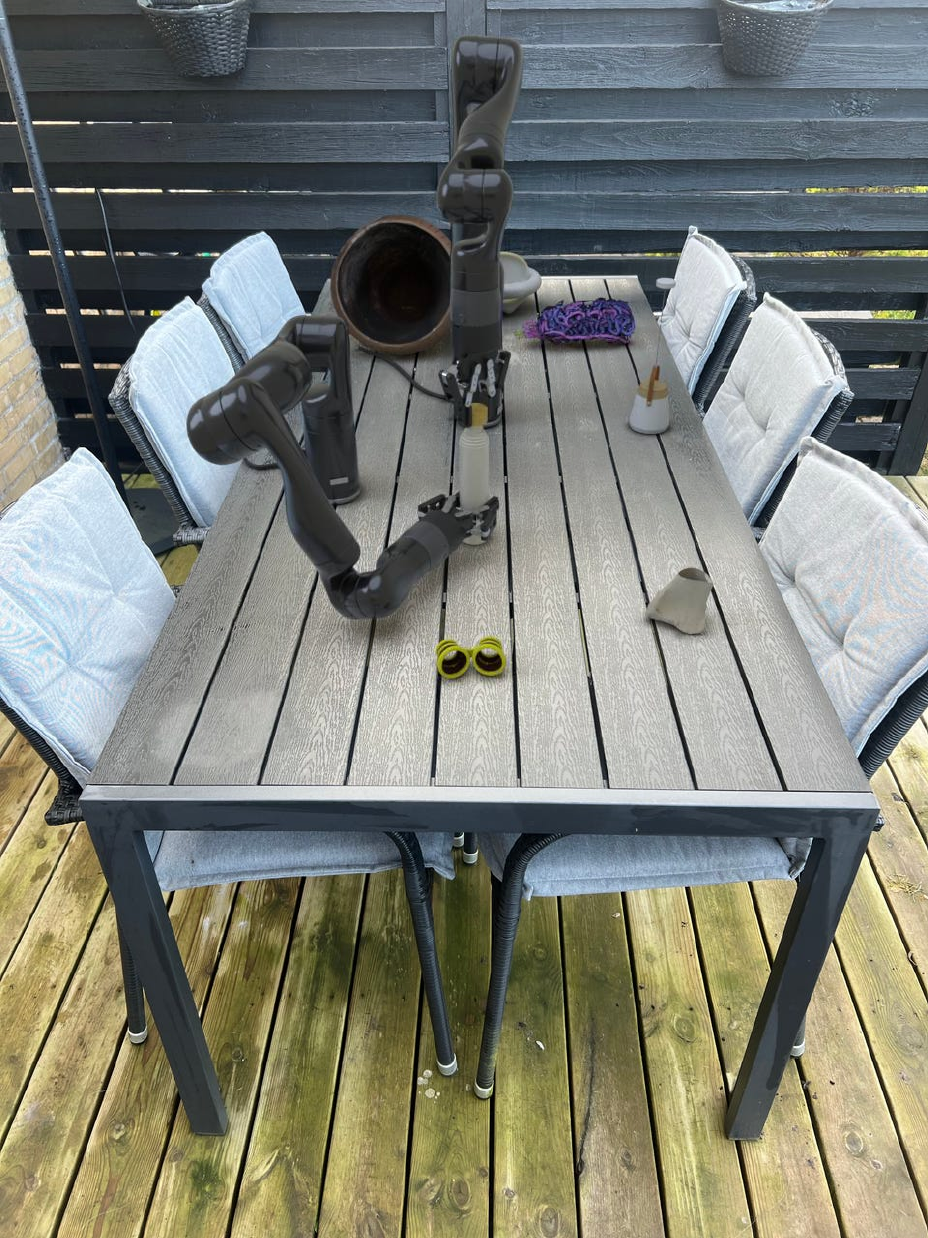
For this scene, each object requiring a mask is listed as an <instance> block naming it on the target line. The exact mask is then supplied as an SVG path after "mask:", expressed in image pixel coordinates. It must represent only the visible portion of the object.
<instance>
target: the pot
mask: <svg viewBox="0 0 928 1238" xmlns="http://www.w3.org/2000/svg"><path fill="white" fill-rule="evenodd" d="M450 250H451V240H450V239H449V237H448V236H447V235H446V234H445V233H443V231H442V230H441V229H440V228H439V227H437V226H436V225H434V224H433V223H431V222H429V221H427V220H425V219H423V218H420V217H419V216H414V215H411V214H405V213H402V214H401V213H397V214H393V213H392V214H388V215H382V216H379V217H378V218H375V219H373V220H372V221H369V222H367V223H366V224H365V225H364V224H363V226H361V227H360V228H358V230H356V231H355V232H354V233H353V234H352V235H351V236H349V238H348V239H347V240H346V242H345V244H344V245H343V246H342V247H341V249H340V252H339V253H338V255H337V257H336V258H335V260H334V263H333V265H332V267H331V274H330V282H329V283H330V284H329V286H330V287H329V290H330V297H331V301H332V304H333V308H334V310H335V313H336V315H337V317H341V318H343V319H344V320H345V322H346V324H347V326H348V330H349V336H351V337H352V338H353V339H355V340H356V341H357V342H358V343H360V344H361V345H362V346H363V347H364V348H365V347H366V349H369V350H371V351H374V352H376V353H379V354H382V355H390V356H405V355H411V354H417V353H419V352H423V351H426V350H428V349H430V348H432V347H433V346H434V345H436V344H437V343H439V342H440V341H441V340H442V339H443V338H444V337H445V336H446V335H447V334H448V333H449V332H450V299H449V294H448V273H449V261H450Z"/></svg>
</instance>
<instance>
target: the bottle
mask: <svg viewBox="0 0 928 1238" xmlns="http://www.w3.org/2000/svg"><path fill="white" fill-rule="evenodd" d="M490 448H491V447H490V437H489V436H488V434H487V432H486V430H485V428H483V425H481V426H471V427H469V428H465V427H464V429H463V431H462V433H461V435H460V437H459V441H458V450H459V451H458V456H459V457H458V458H459V459H458V461H459V462H458V463H459V464H458V465H459V466H458V467H459V468H458V469H459V491H460V508H459V510H462V511H466V510H468V509H470V508H473V507H475V508H476V509H477V508H479V507H481V506H484V504H485V503H486V502H487V501H489V500H490V451H491V450H490ZM471 516H472V515H471ZM480 517H482V514H480ZM486 542H487V541H482V540H481V536H479V535H472V536H470V537H468V538H465V539H464V540H463V541H462V543H465V544H467V545H472V546H475V545H481V544H482V545H483V544H484V543H486Z"/></svg>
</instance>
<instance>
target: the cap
mask: <svg viewBox="0 0 928 1238" xmlns="http://www.w3.org/2000/svg"><path fill="white" fill-rule="evenodd" d="M471 406H472V426H481V425H484V424H486V423H487V421H488V407H487V406H485V405H483V404H480V403H471Z"/></svg>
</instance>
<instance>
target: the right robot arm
mask: <svg viewBox="0 0 928 1238" xmlns="http://www.w3.org/2000/svg"><path fill="white" fill-rule="evenodd" d="M450 64H451V65H450V81H451V82H450V85H451V86H450V87H451V105H452V107H451V108H452V127H453V128H452V158H451V159H450V160H449V162H448V163H447V165H446V166H445V168H444V170H443V171H442V173H441V175H440V177H439V180H438V183H437V187H436V190H435V192H436V193H435V203H436V208H437V210H438V211H437V212H438V213H439V215H440V216H441V217H442V219H443V220H445V221H446V222H447V223H450V224H451V235H450V237H451V240H450V242H451V250H450V261H449V273H448V294H449V299H450V330H449V332H450V333H449V335H450V346H451V348H452V350H453V357H452V361H451V366H449V367H448V368H447V369H445V370H444V369H440V370H439V371H438V379H439V382H440V385H441V388H442V391H443V394H440V393H436V392H433V391H431V390H429V389H427V388H425V387H423V386H422V385H420V384H419V383H417V382H416V381H415V380H414V378H413V377H412V376H411V375H410V374H409V373H408V372H407V371H406V370H405V369H404V368H403V367H402V366H401V365H399V364H398V363H397V362H395V361H393V360H392V359H390V358H389V357H387V356H385V355H384V354H382V353H380V352H377V351H374V350H372V349H369V348H365V347H362V346H357V350H358V351H361V352H364V353H367V354H369V355H372V356H374V357H377V358H379V359H381V360H383V361H385V362H387V363H388V364H390V365H391V366H393V367H394V368H396V369H397V370H398V371H399V372H400V373H401V374H402V375H403V376H404V377H405V378H406V379H407V380H408V381H409V382H410V383H411V385H412V386H414V387H415V388H416V389H417V390H419V391H421V392H422V393H424V394H426V395H429V396H430V397H434V398H436V399H442V400H446V402H447V403H449V404H452V406H453V419H454V420H456V421H457V423H458V424H459V425H460V426H461V427H463V428H464V429H465V428H469V427H471V426H472V406H471V403H480V404H483V405H485V406H487V407H488V421H487V423H486V424H484V425H483V428H484V429H487V428H491V427H494V426H497V425H498V424H500V423H501V421H502V410H503V403H502V390H503V388H504V385H505V381H506V377H507V373H508V369H509V366H510V362H511V358H512V353H511V352H510V351H508V350H505V349H503V347H502V345H503V343H502V342H503V311H502V309H503V295H504V269H503V266H502V263H501V261H500V252H502V251H501V249H502V243H503V238H504V234H505V229H506V226H507V224H508V220H509V217H510V214H511V210H512V207H513V203H514V198H515V197H514V196H515V190H514V189H515V188H514V183H513V180H512V178H511V177H510V175H509V174H508V172H507V171H506V170H504V166H505V158H506V157H505V156H506V148H507V147H506V146H507V140H508V134H509V130H510V127H511V125H512V121H513V119H514V116H515V112H516V109H517V105H518V103H519V99H520V95H521V92H522V91H521V90H522V84H523V77H524V53H523V47H522V45H521V43H520V42H519V41H518V40H516V39H514V38H510V37H504V36H495V35H494V36H493V35H480V34H479V35H478V34H462V35H460V36H458V37H457V38H456V41H455V42H454V44H453V48H452V51H451V61H450ZM475 105H478V106H477V107H476V108H475V107H474V106H475Z"/></svg>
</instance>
